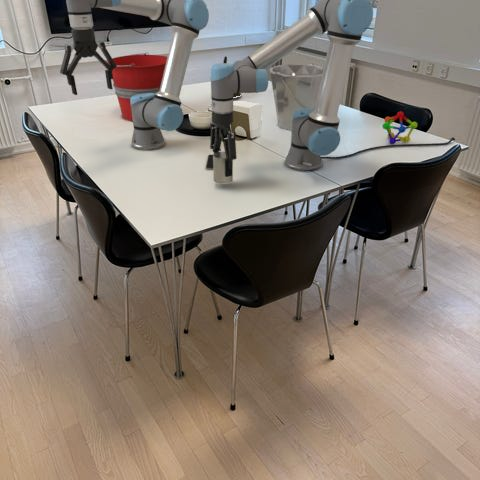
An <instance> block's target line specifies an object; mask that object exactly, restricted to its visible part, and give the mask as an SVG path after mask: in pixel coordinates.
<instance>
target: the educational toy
mask: <svg viewBox="0 0 480 480" xmlns="http://www.w3.org/2000/svg"><path fill="white" fill-rule="evenodd" d="M397 119H399V124H400V125H399V127H398V126H393V125H391V124H392V123H394V122H395V121H396V120H397ZM403 120H404V121H405V122H407V123H408V124H409V125H407V126H404V123H403ZM417 127H418V122H417V121H411V120H410V119H409V118H408V117H406V116H405V113H404V112H403V111H401V110H400V111H398V112H397V114H396V115H394V116H391V117H390V116H386V117H385V118H384V122H383V123H382V129H383V130H386V132H387V138H388V142H389V145H396V143H397V142H402V141H403V142H404V143H409V142H410V140H411V138H410V136H411V134H412V132H413V131H414V130H415V129H417ZM392 129H393V130H397V131H398V132H396V134H395V133H394V132H392ZM408 129H409V131H408V133H407V134H406V135H404V136H401V134H403V133H405V132H406V130H408ZM399 135H400V136H399Z"/></svg>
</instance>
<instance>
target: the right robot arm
mask: <svg viewBox="0 0 480 480" xmlns="http://www.w3.org/2000/svg"><path fill="white" fill-rule="evenodd" d="M373 17H374V8H373V5H372V3H371V1H370V0H319V2H317V3H316V4H315V5H312V7H310V8H309V9H307V11H306V14H305V15H304V16H303V17H301V18H300V19H298V20H297V21H296V22H294V23H293V24H291V25H290V26H289V27H287V28H286V29H285V30H283V31H281V32H280V33H279V34H277V35H276V36H274V37H273V38H272V39H270V40H269V41H267V42H266V43H264V44H263V45H261V46H260V47H259V48H257V49H256V50H255V51H253V52H252V53H250V54H249V55H247V56H246V57H245V58H243V59H242V60H235V61H234V62H233V63H228V62H227V63H223V62H222V63H221V62H220V63H214V64H212V65H211V67H210V90H211V91H210V95H211V102H210V103H211V104H210V105H211V111H212V112H211V122H212V123H210V124H209V127H210V137H209V138H210V139H209V140H210V141H209V142H210V143H209V149H210V150H212V153H213V154H214V153H216V152H222V149H221V147H222V143H223V148H224V152H225V154H226V159H225V177H229V176H232V168H233V167H234V160H237V143H236V138H237V137H236V135H237V133H236V131H232V129H231V125H232V124H233V123H234V99H233V94H234V93H241V94H253V93H255V94H258V93H264V92H266V91H267V90H268V88H269V74H268V71H267V70H268V69H270V68H271V67H273V66H274V65H275V64H276V63H278V62H279V61H281V60H282V59H284V58H285V57H287V56H288V55H289V54H291V53H292V52H295V50H296V49H298V48H299V47H301V46H302V45H304V44H306V43H307V42H308V41H310V40H311V39H312V38H314V37H315V36H317V35H318V36H322V35H324V34H325V33H326V37H327V38H328V41H329V43H328V47H327V51H326V52H327V53H326V57H325V61H324V64H323V65H324V66H323V67H324V69H323V74H322V78H321V83H320V87H319V91H318V96H317V100H316V105H315V109H299V110H296V111H294V113H293V118H292V130H291V135H290V136H291V138H290V139H291V140H290V147H289V150H288V152H287V155H286V157H285V163H284V164H285V166H286V167H287V168H288V169H291V170H293V171H294V170H295V171H300V172H311V171H316V170H319V169H320V168H321V167H322V165H323V160H338V159H347V158H350V157H353V156H356V155H359V154H361V153H363V152H368V151H372V150H377V149H378V150H379V149H384V148H397V147H426V146H427V147H428V146H446V145H449V144H451V143H452V141H456V138H455V137H451V138H450V139H449V140H448V141H447V142H436V143H404V144H403V143H402V144H388V145H387V144H386V145H379V146H372V147H368V148H364V149H361V150H358V151H356V152H355V151H354V152H353V153H350V154H346V155H340V156H328V155H331V154H332V153H333V152H334V151H336V150H337V149H338V147H339V145H340V143H341V134H340V131H339V125H340V122H341V119H340V118H339V116H338V113H339V108H340V104H341V100H342V97H343V93H344V89H345V85H346V82H347V77H348V74H349V69H350V65H351V62H352V57H353V53H354V49H355V47H356V45H357V44H359V43H360V42H361V40H362V38H363V37H362V36H363V34H364V33H365V32H366V31H367V30H368V29H369V28H370V26H371V24H372V22H373ZM233 169H234V168H233Z"/></svg>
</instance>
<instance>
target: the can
mask: <svg viewBox="0 0 480 480" xmlns="http://www.w3.org/2000/svg"><path fill="white" fill-rule="evenodd" d="M212 155H213V169H212V170H213V182H215V184H219V185H221V184H222V185H225V184H231V183H232V182H233V180H234V168H232V176H229V177H225V159H226V154H225V151H219V152H216V153H214V152H213V154H212Z"/></svg>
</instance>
